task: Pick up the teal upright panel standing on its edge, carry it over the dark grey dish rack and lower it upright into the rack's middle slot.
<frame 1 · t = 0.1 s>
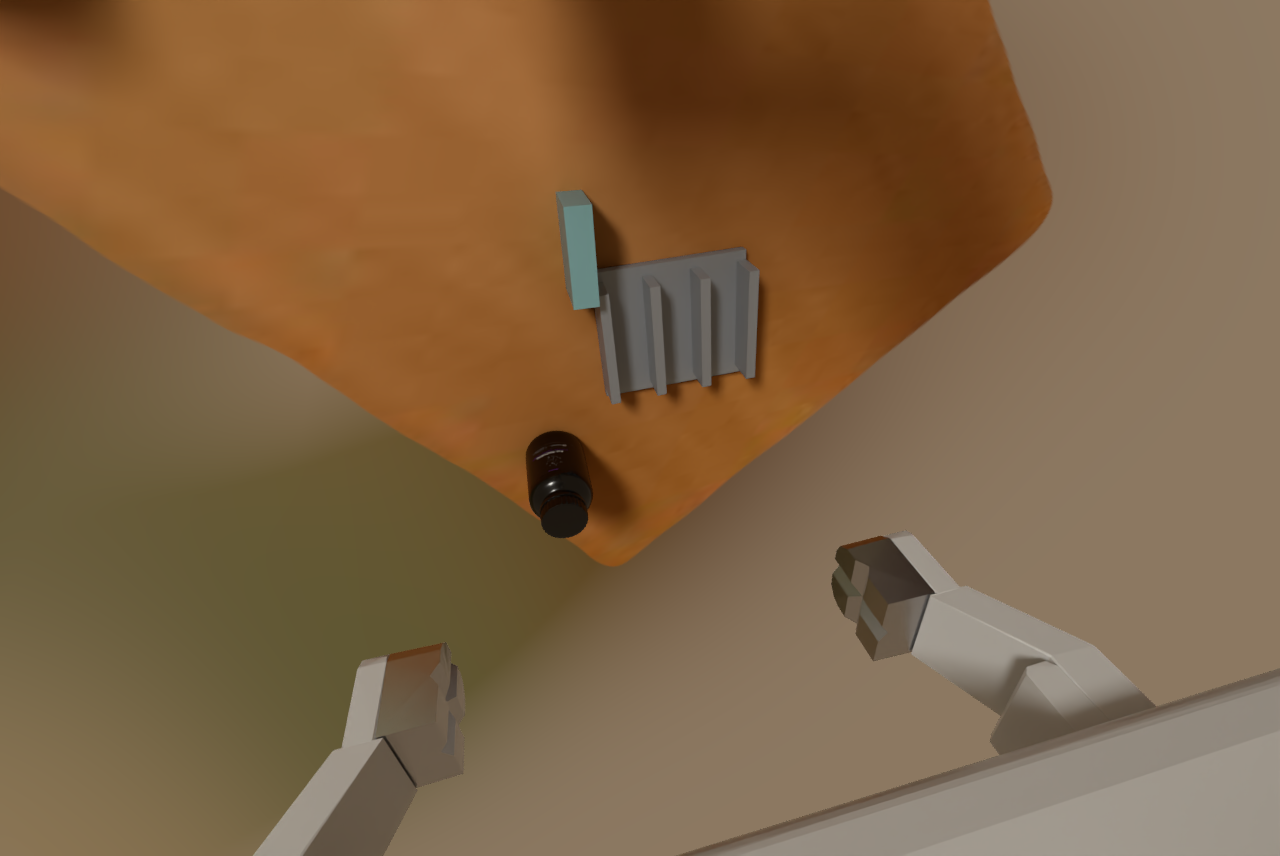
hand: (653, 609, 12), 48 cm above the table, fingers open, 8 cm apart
teal upright panel: (573, 240, 55), on the table
rack: (670, 322, 62), on the table
supplement bottle: (553, 451, 68), on the table
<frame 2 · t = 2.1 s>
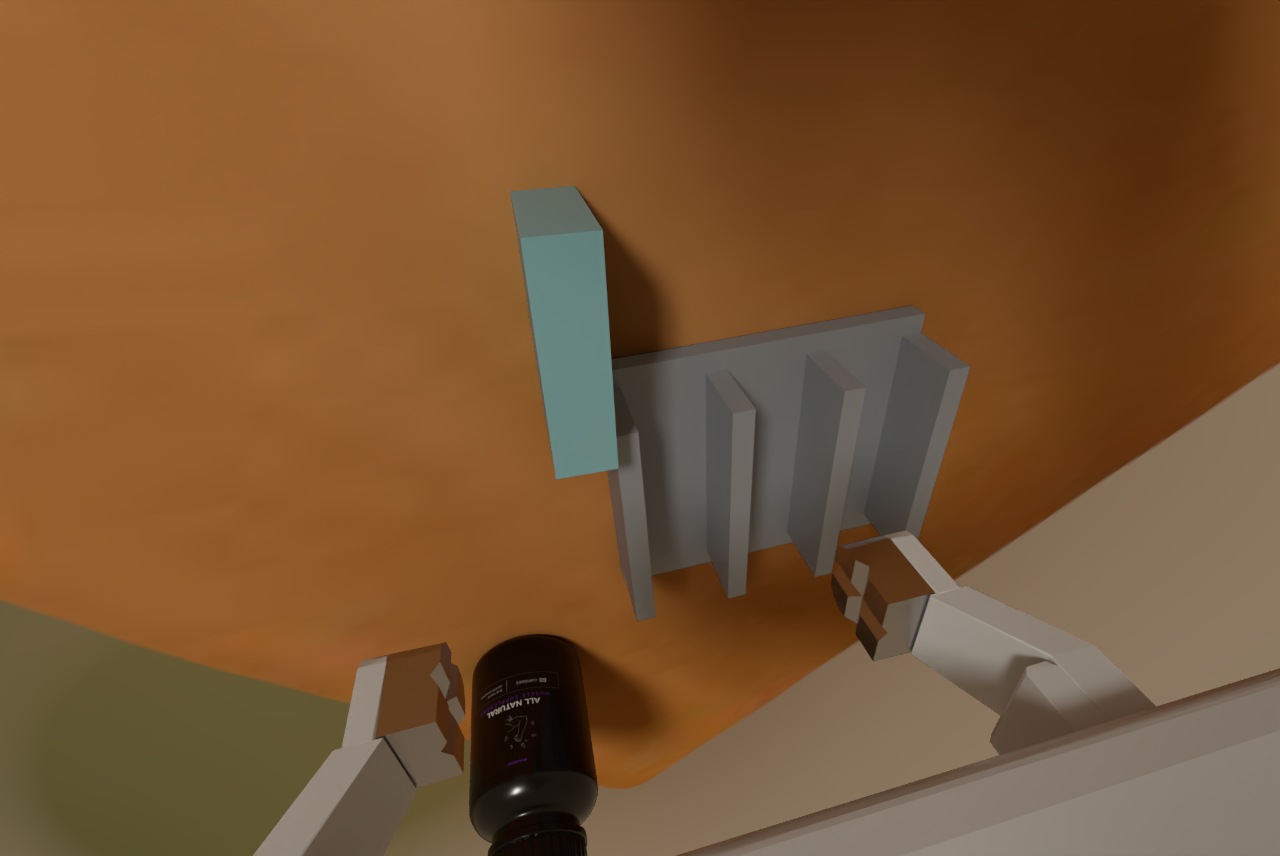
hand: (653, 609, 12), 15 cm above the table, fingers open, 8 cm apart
teal upright panel: (556, 302, 24), on the table
rack: (753, 449, 31), on the table
supplement bottle: (525, 662, 37), on the table
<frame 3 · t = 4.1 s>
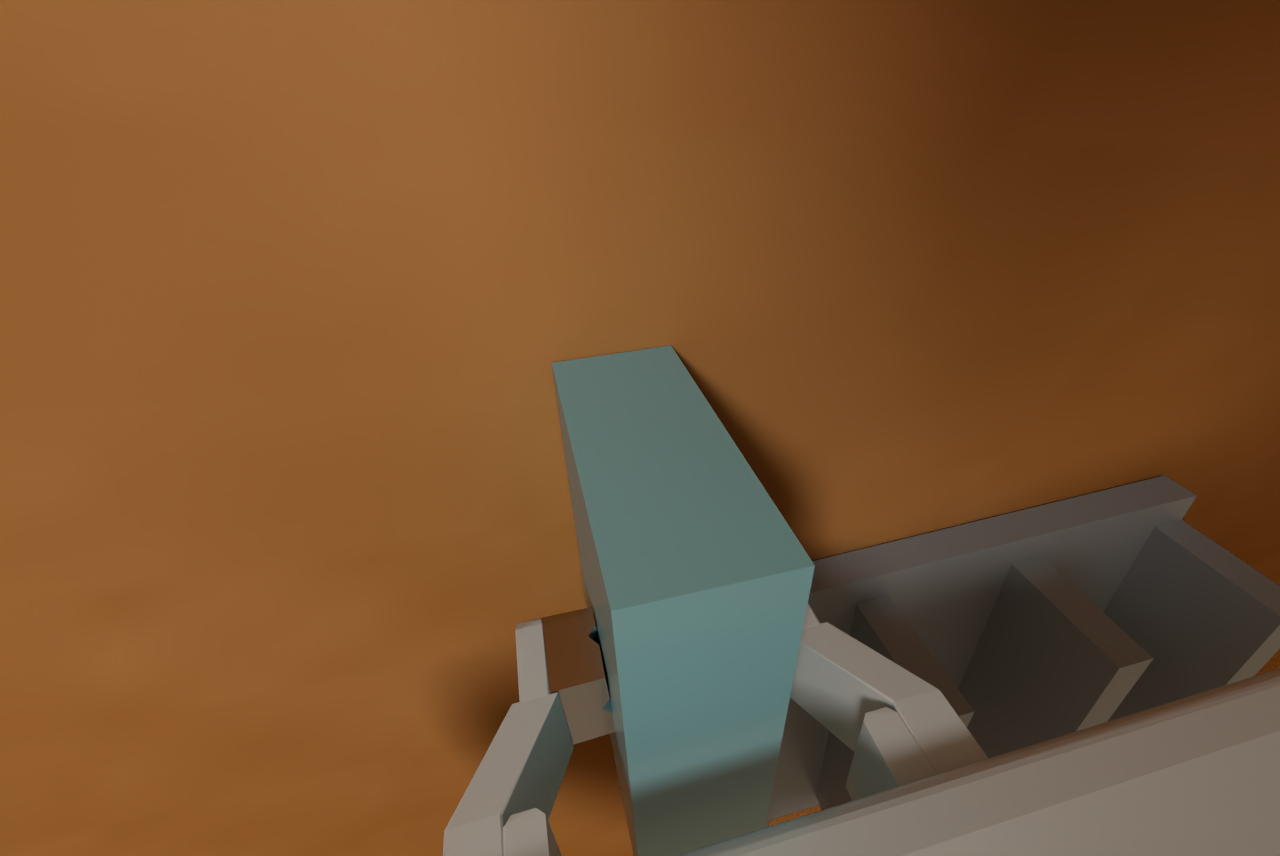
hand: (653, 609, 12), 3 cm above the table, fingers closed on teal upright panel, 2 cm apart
teal upright panel: (625, 521, 14), on the table, touching gripper, rack
rack: (894, 668, 21), on the table
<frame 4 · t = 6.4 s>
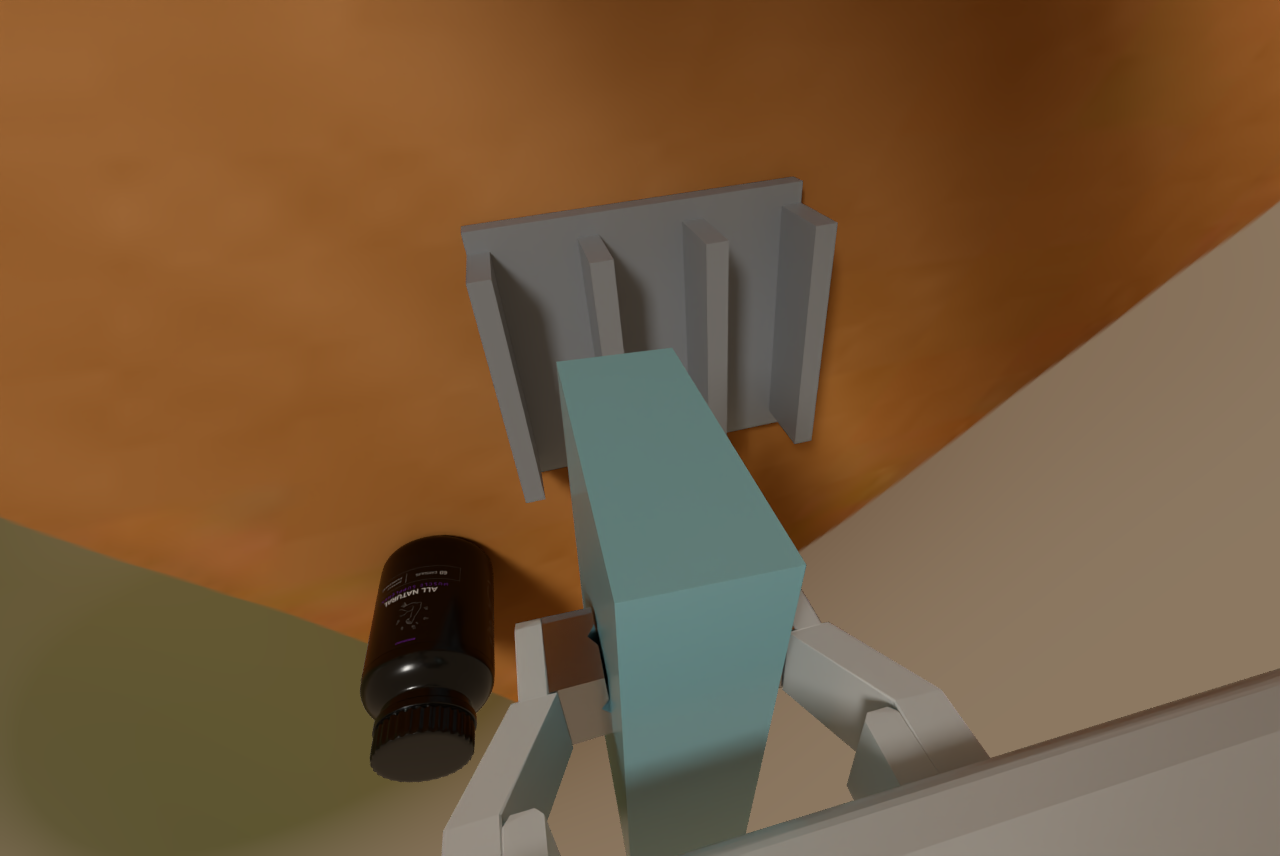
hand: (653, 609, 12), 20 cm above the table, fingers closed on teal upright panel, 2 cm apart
teal upright panel: (622, 516, 14), point 17 cm above the table, touching gripper
rack: (645, 334, 31), on the table
supplement bottle: (438, 567, 37), on the table
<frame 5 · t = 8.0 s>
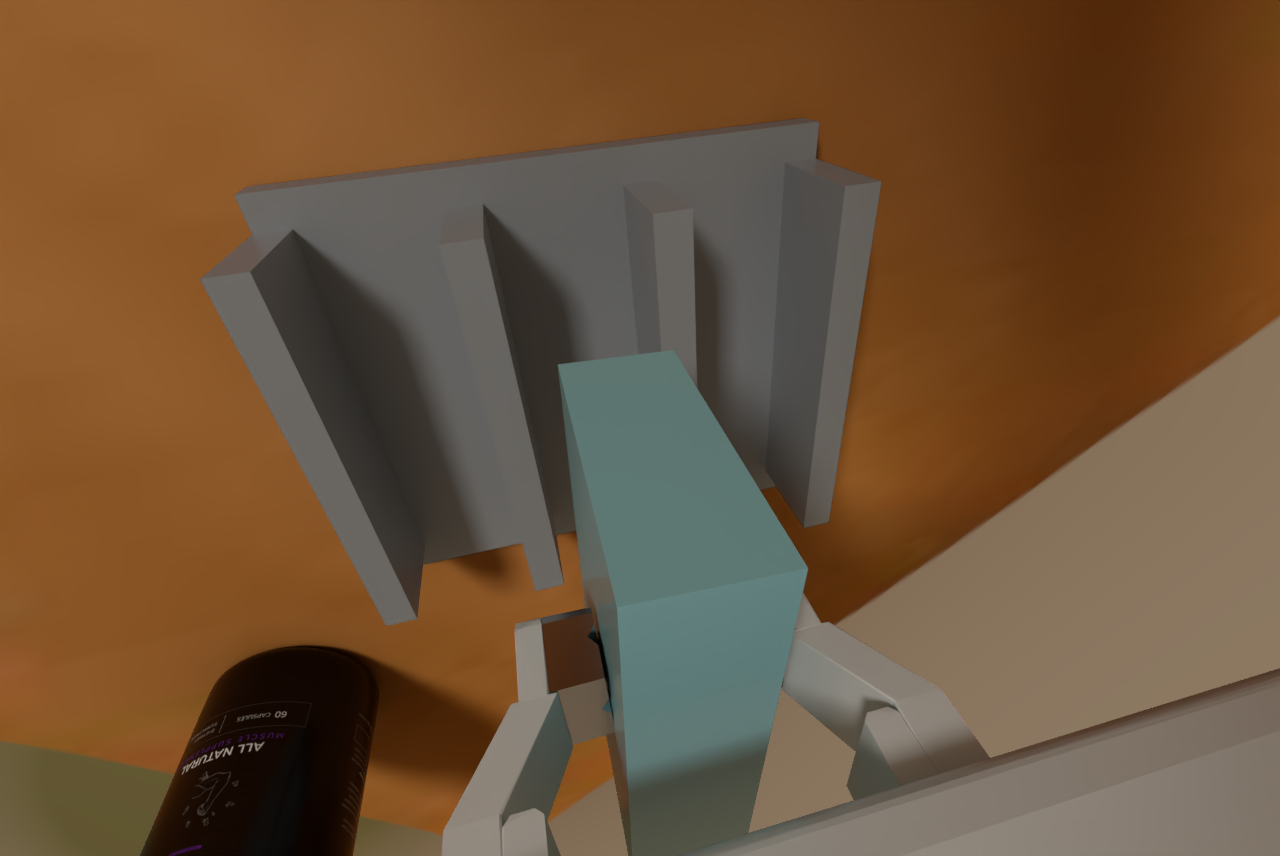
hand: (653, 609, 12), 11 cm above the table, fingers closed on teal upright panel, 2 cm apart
teal upright panel: (623, 518, 14), point 8 cm above the table, touching gripper
rack: (578, 364, 20), on the table
supplement bottle: (300, 684, 26), on the table
when the fingers open (7 cm above the table, at t = 9.0 s): teal upright panel drops 3 cm, resting on rack.
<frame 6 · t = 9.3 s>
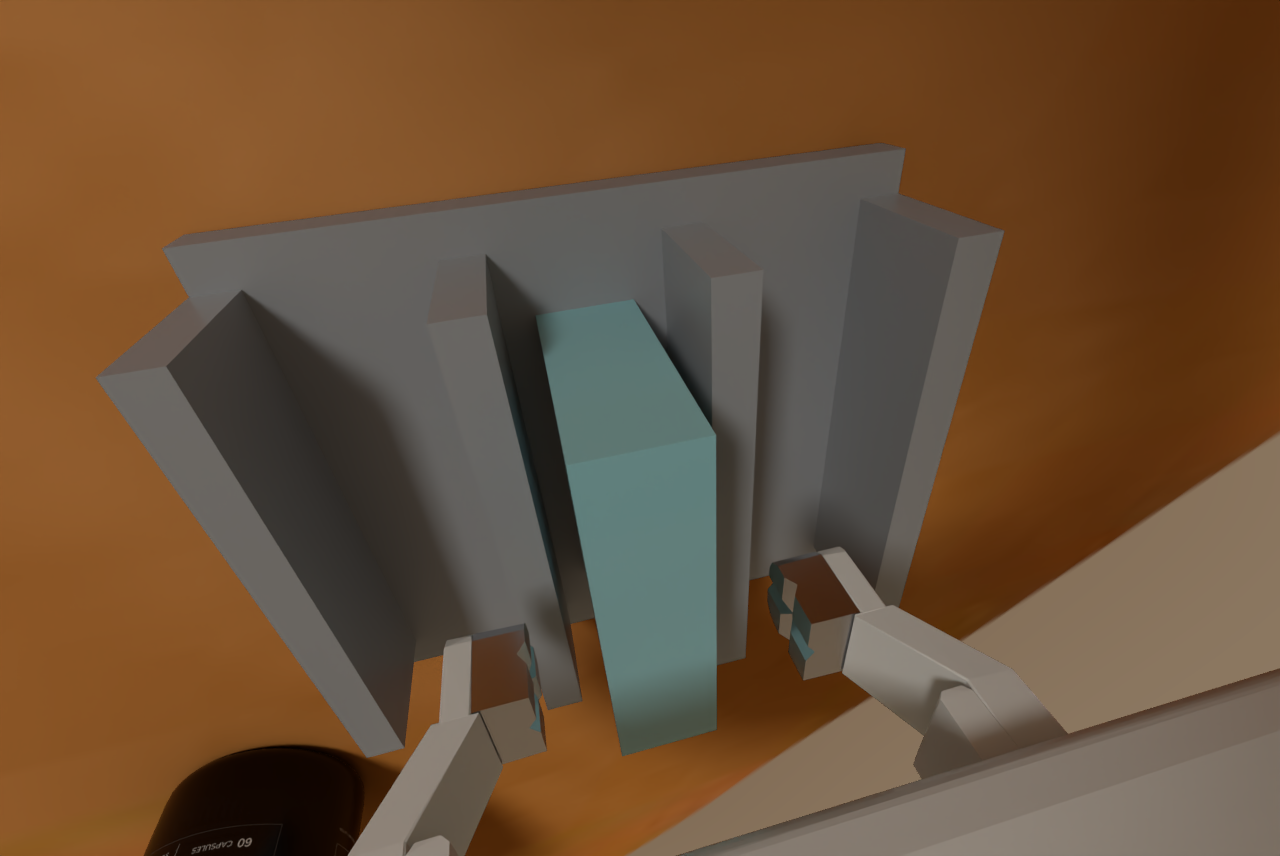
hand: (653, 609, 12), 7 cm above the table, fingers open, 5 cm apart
teal upright panel: (606, 455, 16), point 1 cm above the table, touching rack
rack: (599, 433, 17), on the table
supplement bottle: (274, 784, 23), on the table
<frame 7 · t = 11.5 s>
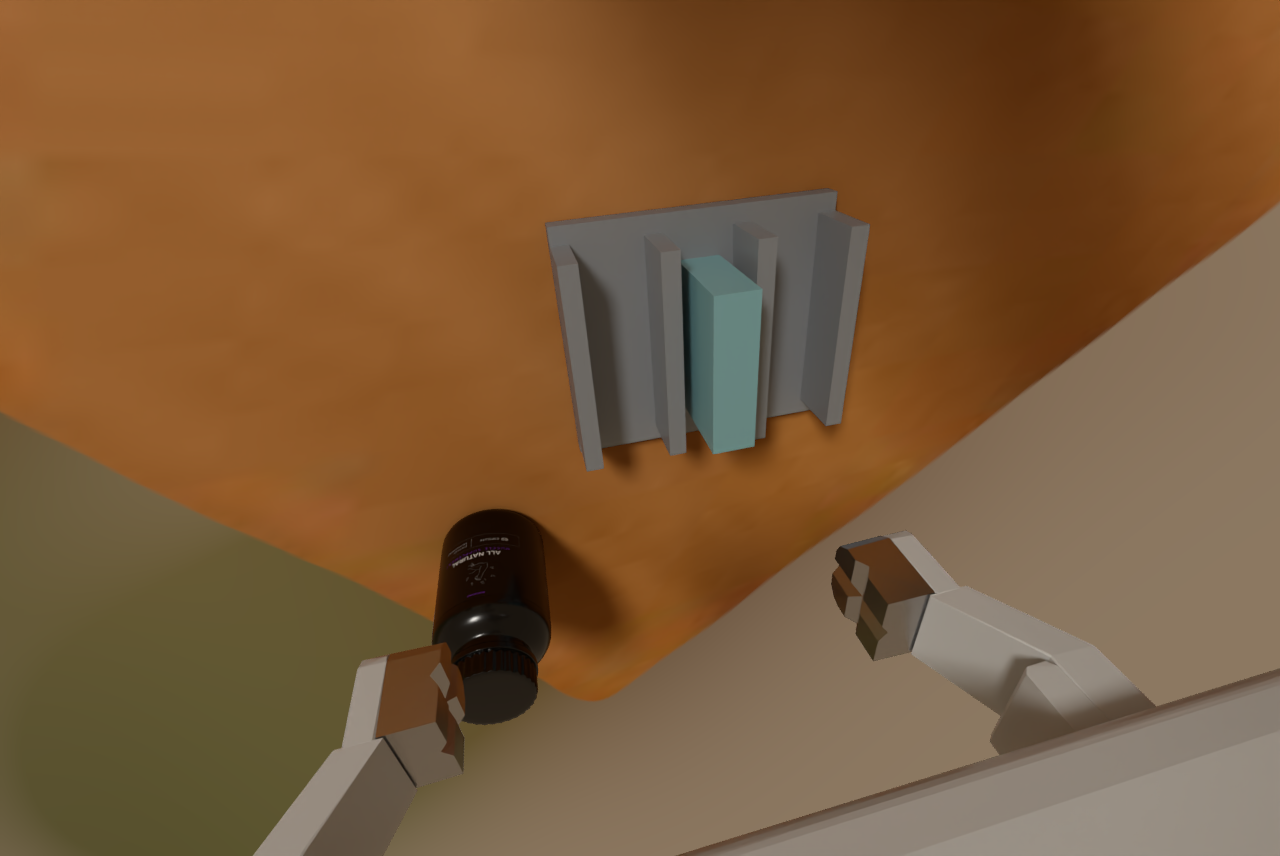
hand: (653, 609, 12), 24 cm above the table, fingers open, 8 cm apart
teal upright panel: (699, 333, 34), point 1 cm above the table, touching rack
rack: (694, 325, 35), on the table
supplement bottle: (492, 541, 40), on the table
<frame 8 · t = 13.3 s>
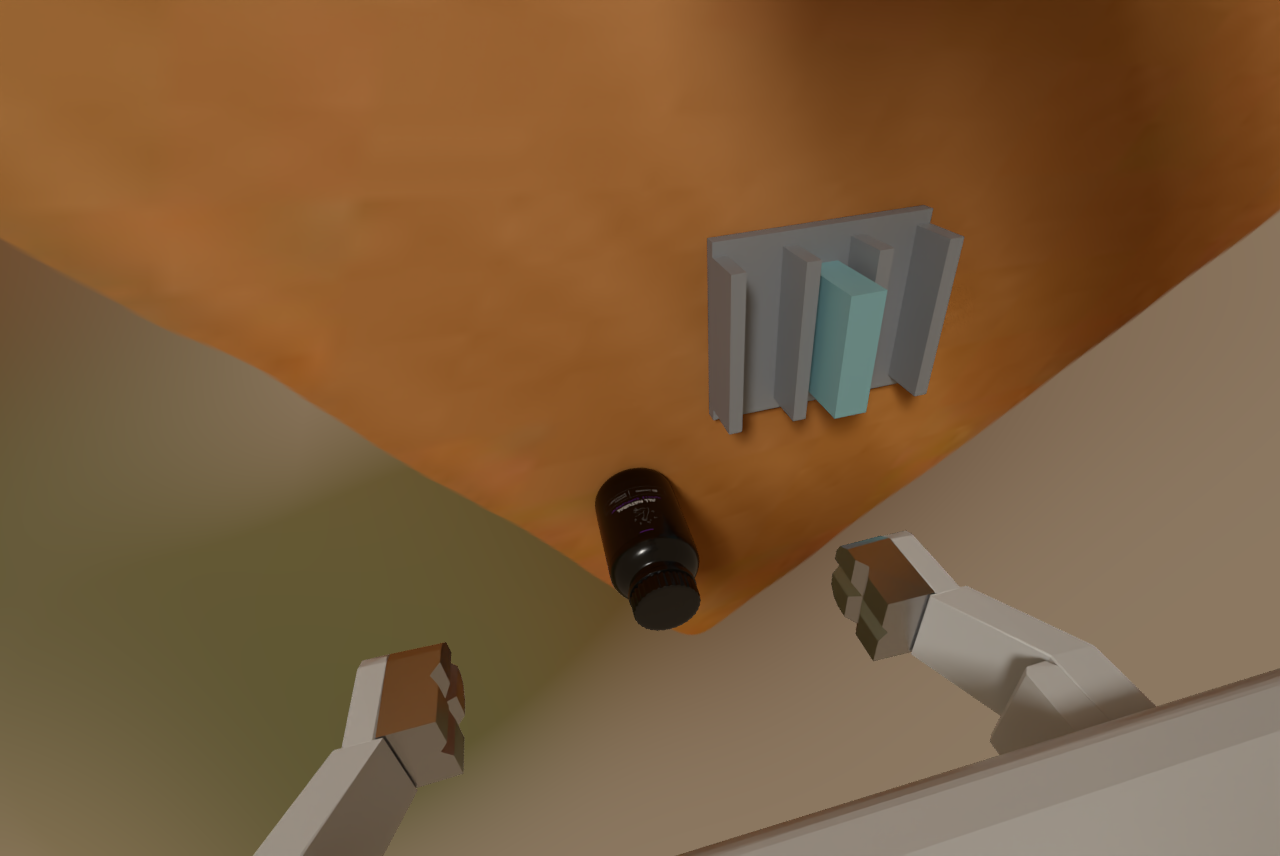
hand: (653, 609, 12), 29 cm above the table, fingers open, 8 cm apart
teal upright panel: (815, 322, 42), point 1 cm above the table, touching rack
rack: (809, 316, 43), on the table
supplement bottle: (631, 495, 49), on the table
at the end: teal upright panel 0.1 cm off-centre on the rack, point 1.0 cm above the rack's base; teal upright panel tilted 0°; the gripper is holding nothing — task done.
